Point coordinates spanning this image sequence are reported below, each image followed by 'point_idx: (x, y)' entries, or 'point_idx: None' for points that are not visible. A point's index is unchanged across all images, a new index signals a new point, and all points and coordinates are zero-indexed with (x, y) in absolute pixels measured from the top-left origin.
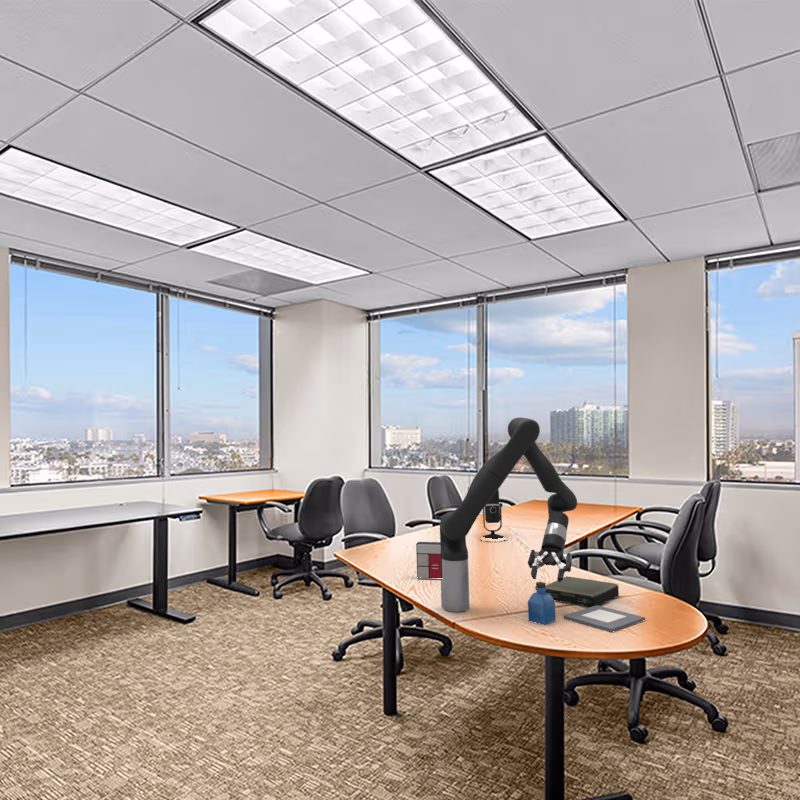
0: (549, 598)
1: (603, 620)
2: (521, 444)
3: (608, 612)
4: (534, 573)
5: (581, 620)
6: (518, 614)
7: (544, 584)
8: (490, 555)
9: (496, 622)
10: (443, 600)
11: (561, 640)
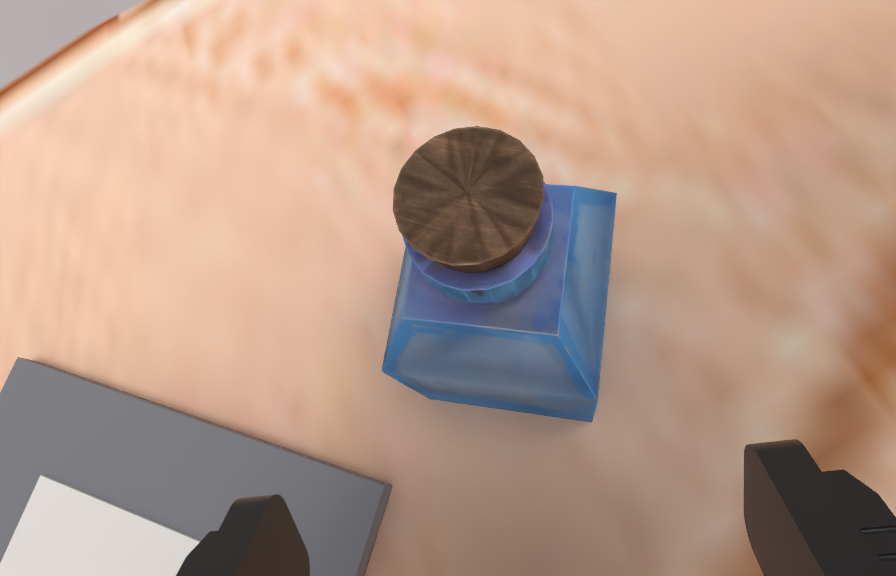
0: (401, 287)
1: (72, 510)
2: None
3: None
4: (774, 486)
5: (222, 430)
6: (785, 379)
7: (399, 184)
8: None
9: (797, 91)
10: None
11: (269, 65)
